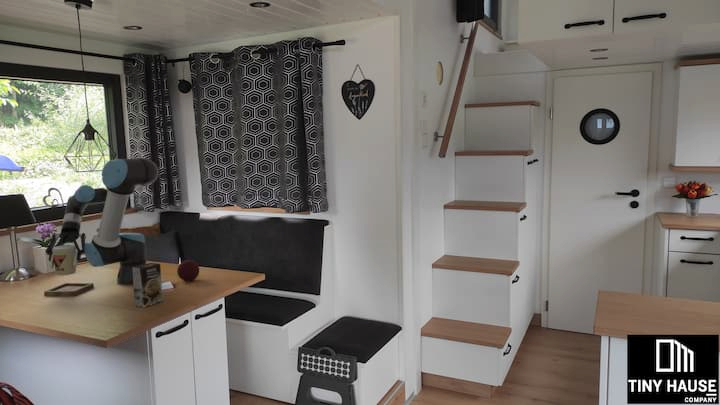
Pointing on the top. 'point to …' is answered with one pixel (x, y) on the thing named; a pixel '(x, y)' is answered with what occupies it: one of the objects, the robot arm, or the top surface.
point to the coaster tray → (69, 289)
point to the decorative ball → (188, 270)
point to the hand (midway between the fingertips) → (63, 266)
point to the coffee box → (147, 284)
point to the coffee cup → (64, 259)
